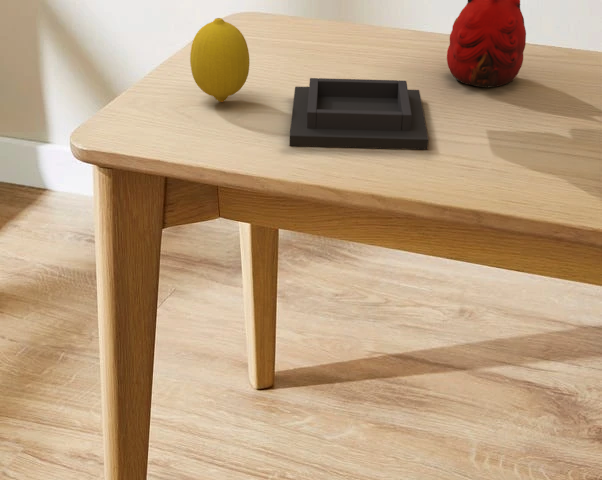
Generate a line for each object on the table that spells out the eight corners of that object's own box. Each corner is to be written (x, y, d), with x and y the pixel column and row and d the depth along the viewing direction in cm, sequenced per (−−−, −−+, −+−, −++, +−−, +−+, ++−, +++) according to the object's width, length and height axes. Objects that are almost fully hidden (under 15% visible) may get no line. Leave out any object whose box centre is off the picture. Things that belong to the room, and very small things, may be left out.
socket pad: (418, 99, 95) (420, 74, 93) (427, 150, 85) (430, 122, 83) (295, 96, 95) (295, 71, 94) (289, 146, 85) (289, 119, 84)
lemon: (224, 87, 97) (221, 6, 92) (262, 102, 93) (261, 19, 89) (180, 100, 94) (175, 17, 89) (217, 117, 90) (214, 31, 86)
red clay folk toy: (517, 70, 102) (538, -81, 94) (523, 94, 96) (546, -64, 88) (444, 66, 103) (458, -84, 95) (445, 90, 97) (461, -68, 89)
